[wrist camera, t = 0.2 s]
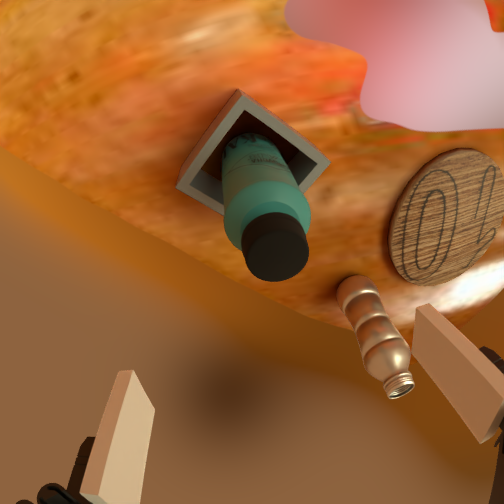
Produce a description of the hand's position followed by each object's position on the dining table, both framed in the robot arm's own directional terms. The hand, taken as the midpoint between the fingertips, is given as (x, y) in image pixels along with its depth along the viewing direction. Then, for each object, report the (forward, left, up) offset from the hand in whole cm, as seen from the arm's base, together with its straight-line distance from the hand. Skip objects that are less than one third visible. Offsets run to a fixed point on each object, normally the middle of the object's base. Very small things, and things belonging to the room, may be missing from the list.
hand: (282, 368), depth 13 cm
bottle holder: (-1, +1, -27) cm, 27 cm away
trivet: (-13, +33, -28) cm, 45 cm away
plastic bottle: (+6, +27, -27) cm, 38 cm away
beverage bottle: (-1, +1, -27) cm, 27 cm away
